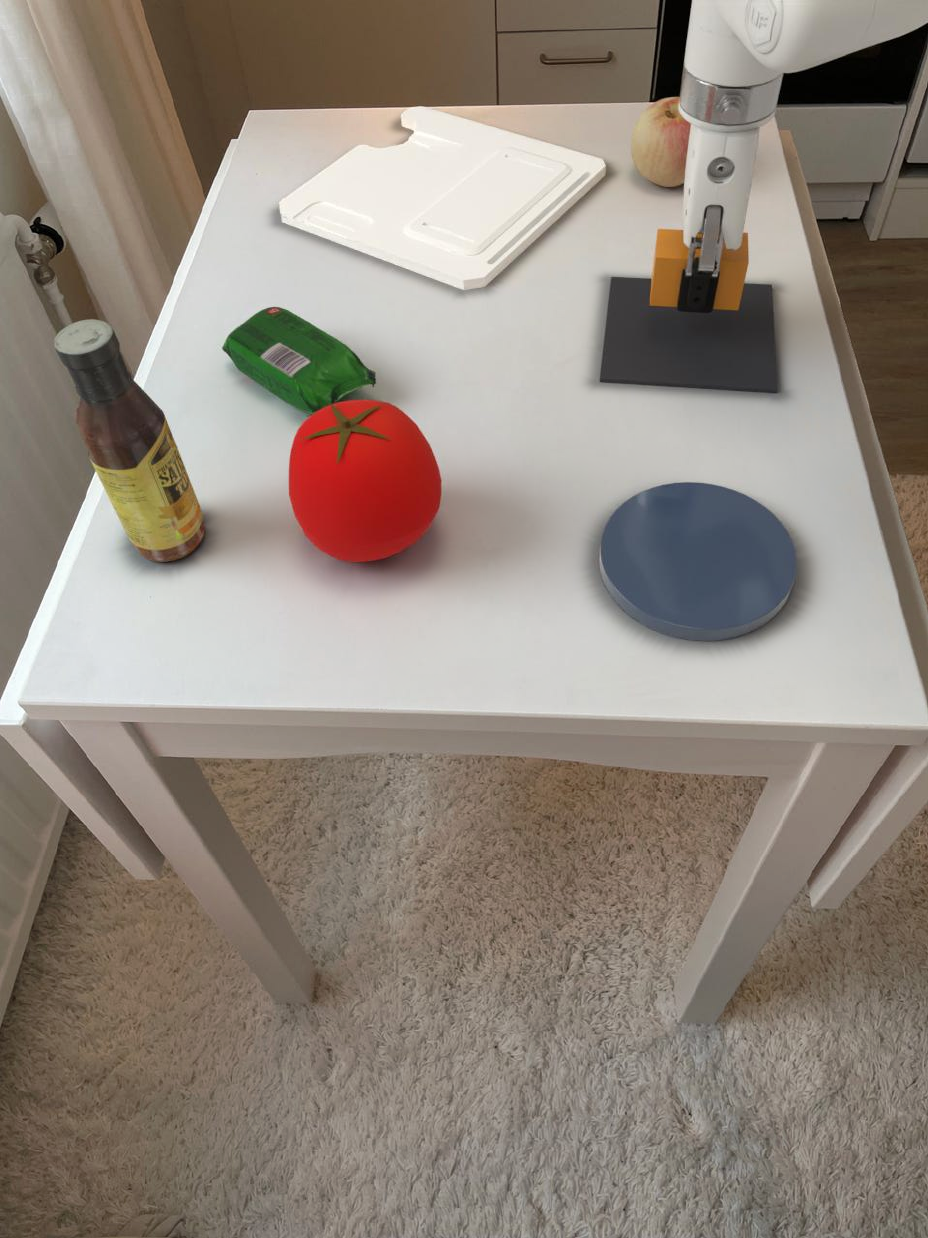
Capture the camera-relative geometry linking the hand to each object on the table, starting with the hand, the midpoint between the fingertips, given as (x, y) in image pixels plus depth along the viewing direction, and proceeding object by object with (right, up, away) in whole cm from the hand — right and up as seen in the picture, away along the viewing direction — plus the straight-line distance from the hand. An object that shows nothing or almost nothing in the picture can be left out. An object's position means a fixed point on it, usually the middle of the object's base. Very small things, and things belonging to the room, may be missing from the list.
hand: (695, 291), depth 89 cm
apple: (+2, +20, +20) cm, 28 cm away
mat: (0, -3, +4) cm, 5 cm away
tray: (-24, +18, +21) cm, 36 cm away
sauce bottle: (-46, -24, -9) cm, 52 cm away
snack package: (-37, -8, +2) cm, 38 cm away
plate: (-3, -26, -13) cm, 29 cm away
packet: (0, 0, 0) cm, 0 cm away
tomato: (-29, -24, -10) cm, 39 cm away
